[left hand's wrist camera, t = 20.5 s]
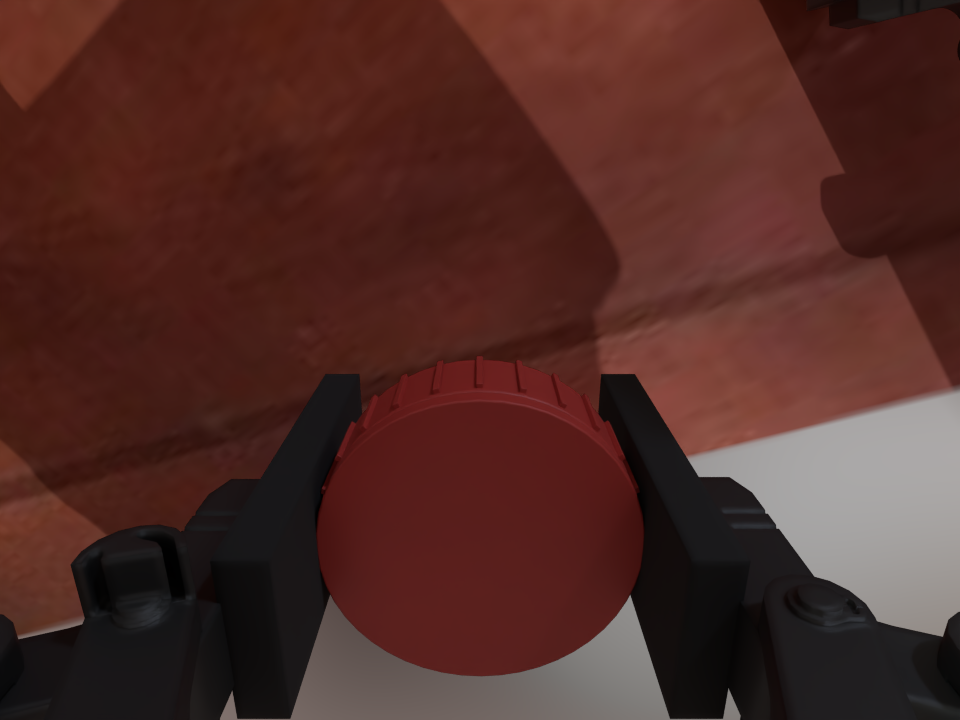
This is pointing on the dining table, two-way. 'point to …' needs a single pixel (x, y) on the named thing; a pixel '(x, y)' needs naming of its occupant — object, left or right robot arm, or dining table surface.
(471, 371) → the lid
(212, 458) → the dining table surface
